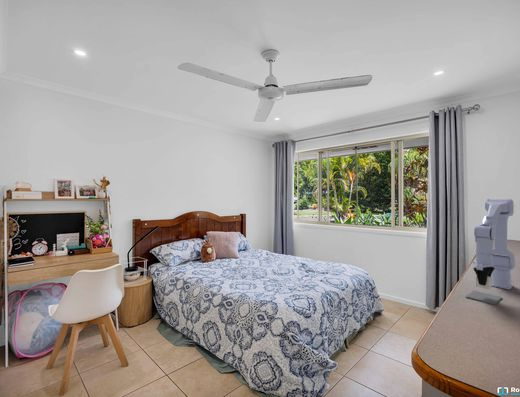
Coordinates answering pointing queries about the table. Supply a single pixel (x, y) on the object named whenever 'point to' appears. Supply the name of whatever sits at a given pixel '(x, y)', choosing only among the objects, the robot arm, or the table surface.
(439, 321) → the table surface
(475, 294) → the gray mat
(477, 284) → the cream cube
